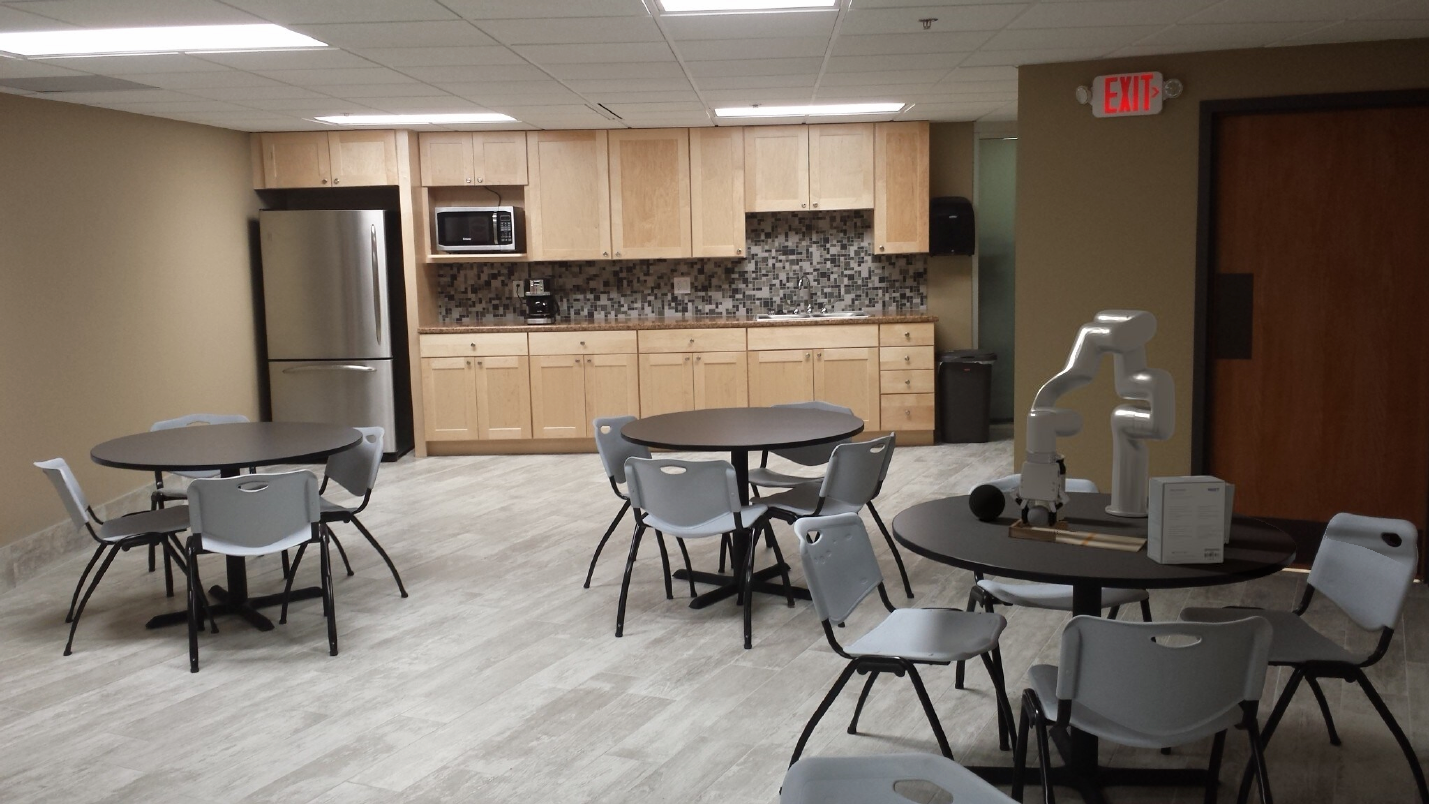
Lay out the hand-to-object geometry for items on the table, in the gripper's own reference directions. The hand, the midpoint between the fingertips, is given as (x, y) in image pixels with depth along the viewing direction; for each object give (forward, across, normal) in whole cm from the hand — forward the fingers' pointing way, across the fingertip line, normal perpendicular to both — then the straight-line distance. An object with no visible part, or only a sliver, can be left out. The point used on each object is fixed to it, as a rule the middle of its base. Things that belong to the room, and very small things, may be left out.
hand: (1038, 523), depth 285 cm
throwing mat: (+3, -10, 0) cm, 10 cm away
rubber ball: (-2, 0, 0) cm, 2 cm away
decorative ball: (+3, +17, -10) cm, 20 cm away
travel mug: (+3, +2, -20) cm, 20 cm away
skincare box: (+3, -40, -14) cm, 42 cm away
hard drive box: (+3, -37, +9) cm, 38 cm away
